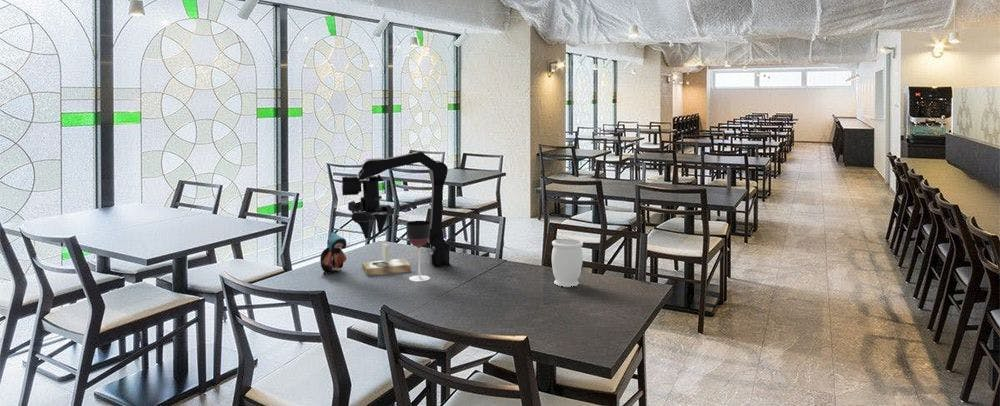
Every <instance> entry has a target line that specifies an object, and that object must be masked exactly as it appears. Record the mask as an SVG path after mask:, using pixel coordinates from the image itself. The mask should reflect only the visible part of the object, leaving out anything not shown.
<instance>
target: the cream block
mask: <svg viewBox="0 0 1000 406" xmlns="http://www.w3.org/2000/svg"><path fill="white" fill-rule="evenodd" d="M390 253H391V250H390V245H389V244H388V243H386V242H383V243H381V258H382V260H384V262H374V263H372V264H379V263H385V264H386V263H388V262H389V261H390V260H391V256H390V255H391V254H390Z"/></svg>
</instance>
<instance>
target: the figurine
mask: <svg viewBox="0 0 1000 406" xmlns="http://www.w3.org/2000/svg"><path fill="white" fill-rule="evenodd" d="M346 240H347V239H346V238H344V237H342V236H340V235H339V234H337V233H336V232H335V231H333V230H332V232H331V233H330V237H329V238H328V239H327V243H326V244H327V245H328V247H326V248H325V249H324V250H322V252H321V254H320V261H319V262H320V267H321V269H322V271H323V272H322V275H324V276H328V275H333V274H337V273H340V272H341V271H342V268H344V263H345V262H346V261H347V259H348V258H347V256H346V254H345V253H344V251H343V250H342V249H346V248H347V241H346Z"/></svg>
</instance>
